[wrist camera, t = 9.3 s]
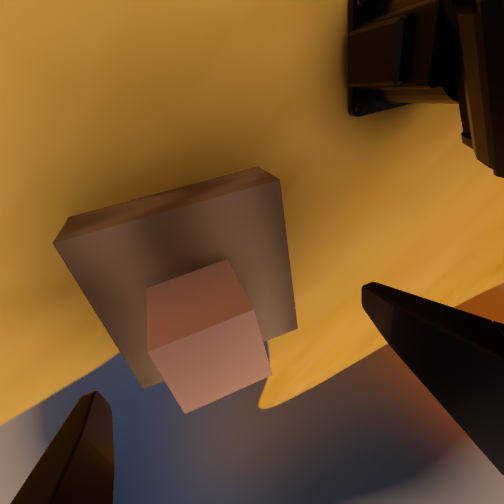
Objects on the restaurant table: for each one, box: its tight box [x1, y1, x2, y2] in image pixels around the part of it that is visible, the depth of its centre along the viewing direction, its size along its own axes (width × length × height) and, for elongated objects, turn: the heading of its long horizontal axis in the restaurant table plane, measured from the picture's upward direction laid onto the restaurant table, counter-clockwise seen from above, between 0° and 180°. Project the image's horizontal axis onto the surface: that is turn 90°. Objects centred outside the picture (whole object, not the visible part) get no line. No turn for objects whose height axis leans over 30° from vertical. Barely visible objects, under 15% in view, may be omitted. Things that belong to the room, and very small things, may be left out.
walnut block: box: [53, 167, 298, 389], centre depth 20 cm, size 12×12×4 cm
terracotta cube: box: [146, 259, 272, 414], centre depth 16 cm, size 5×5×5 cm
